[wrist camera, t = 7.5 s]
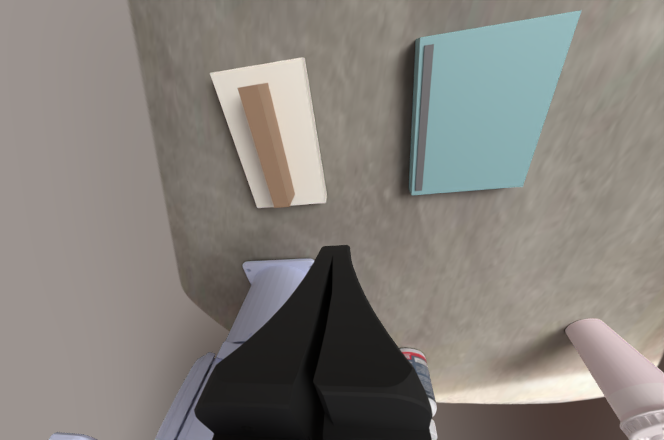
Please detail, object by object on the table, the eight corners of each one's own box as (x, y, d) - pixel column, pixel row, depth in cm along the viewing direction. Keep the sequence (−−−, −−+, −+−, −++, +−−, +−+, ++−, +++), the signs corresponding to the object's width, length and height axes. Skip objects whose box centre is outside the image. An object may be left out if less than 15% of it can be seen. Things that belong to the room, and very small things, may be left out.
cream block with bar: (327, 196, 20) (323, 215, 18) (262, 201, 21) (248, 221, 19) (304, 58, 15) (294, 56, 12) (218, 72, 16) (191, 73, 13)
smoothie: (543, 342, 30) (666, 522, 18) (564, 311, 26) (731, 508, 15) (602, 343, 29) (770, 532, 17) (631, 310, 25) (866, 519, 14)
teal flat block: (513, 179, 18) (523, 187, 17) (408, 188, 20) (411, 195, 19) (564, 14, 13) (583, 10, 12) (415, 39, 14) (420, 37, 13)
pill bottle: (408, 342, 32) (425, 425, 25) (432, 357, 34) (454, 440, 26) (379, 355, 34) (386, 434, 27) (402, 369, 36) (415, 447, 29)
